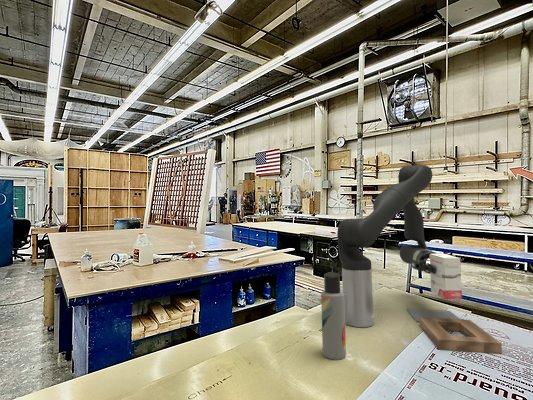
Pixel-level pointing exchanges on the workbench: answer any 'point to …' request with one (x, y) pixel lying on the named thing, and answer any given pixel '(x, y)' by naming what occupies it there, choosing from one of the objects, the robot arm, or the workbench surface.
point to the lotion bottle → (333, 317)
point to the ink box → (446, 276)
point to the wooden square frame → (472, 342)
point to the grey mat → (431, 314)
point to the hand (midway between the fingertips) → (445, 270)
